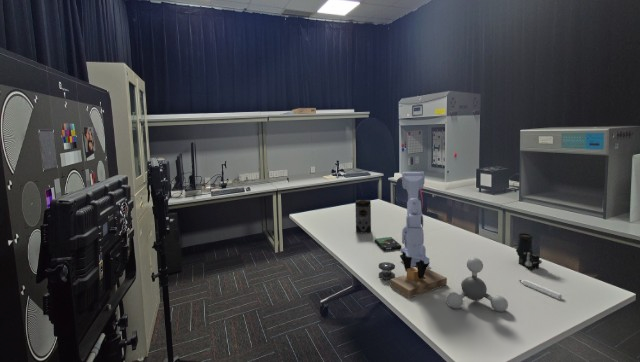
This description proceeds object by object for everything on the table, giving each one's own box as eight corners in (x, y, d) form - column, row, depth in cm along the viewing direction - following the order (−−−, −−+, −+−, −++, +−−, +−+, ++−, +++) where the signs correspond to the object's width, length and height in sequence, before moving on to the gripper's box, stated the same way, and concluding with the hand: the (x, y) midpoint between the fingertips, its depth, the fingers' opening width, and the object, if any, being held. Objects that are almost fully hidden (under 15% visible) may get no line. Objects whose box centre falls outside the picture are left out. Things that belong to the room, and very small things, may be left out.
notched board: (426, 274, 143) (426, 268, 143) (446, 284, 134) (446, 277, 133) (390, 286, 134) (390, 279, 134) (409, 297, 125) (409, 290, 124)
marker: (518, 283, 135) (560, 301, 120) (515, 282, 134) (557, 299, 119) (520, 277, 135) (562, 294, 120) (517, 276, 134) (559, 292, 119)
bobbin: (388, 271, 148) (387, 261, 147) (398, 277, 142) (398, 266, 141) (375, 275, 145) (375, 264, 144) (385, 281, 139) (385, 270, 138)
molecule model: (479, 308, 129) (450, 262, 134) (518, 297, 119) (485, 247, 124) (461, 332, 114) (430, 279, 119) (503, 322, 104) (467, 264, 109)
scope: (529, 240, 142) (510, 233, 151) (527, 270, 144) (509, 262, 153) (544, 238, 144) (525, 231, 153) (542, 267, 146) (523, 259, 155)
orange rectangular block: (413, 280, 139) (414, 266, 138) (420, 284, 135) (421, 270, 134) (406, 282, 137) (406, 269, 136) (413, 286, 134) (413, 272, 133)
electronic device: (355, 233, 204) (355, 201, 201) (356, 230, 210) (355, 199, 207) (371, 233, 202) (370, 201, 199) (371, 230, 208) (370, 199, 205)
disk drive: (401, 250, 174) (391, 241, 189) (402, 245, 174) (391, 236, 188) (383, 252, 173) (374, 242, 187) (383, 247, 172) (374, 238, 187)
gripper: (395, 239, 138) (395, 270, 140) (420, 250, 125) (419, 283, 128) (407, 236, 141) (407, 266, 143) (433, 246, 129) (432, 279, 131)
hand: (414, 274), depth 136 cm, fingers open, 7 cm apart
